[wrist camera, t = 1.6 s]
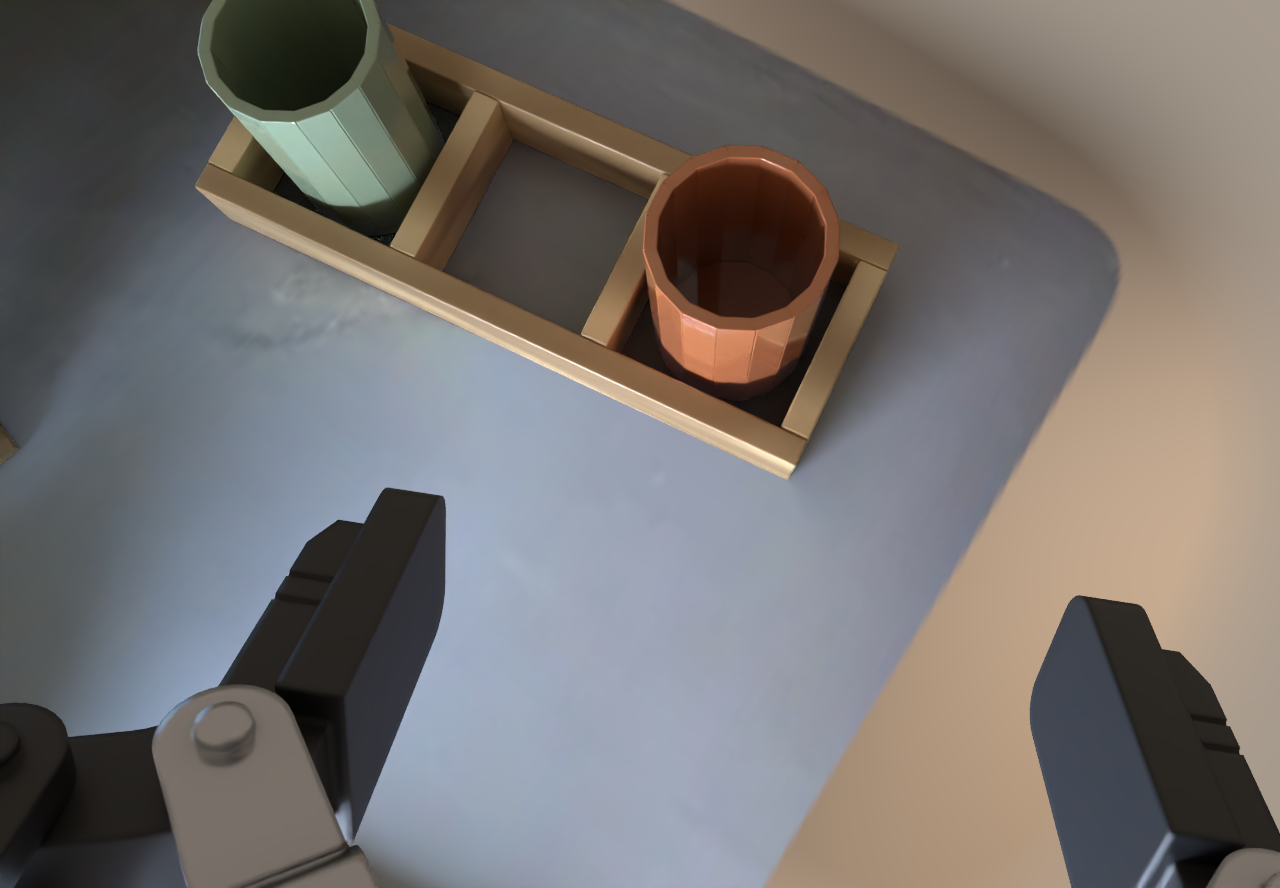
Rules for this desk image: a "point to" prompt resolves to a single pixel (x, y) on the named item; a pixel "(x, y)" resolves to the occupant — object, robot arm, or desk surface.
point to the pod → (325, 102)
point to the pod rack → (592, 358)
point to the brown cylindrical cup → (738, 268)
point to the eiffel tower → (6, 446)
